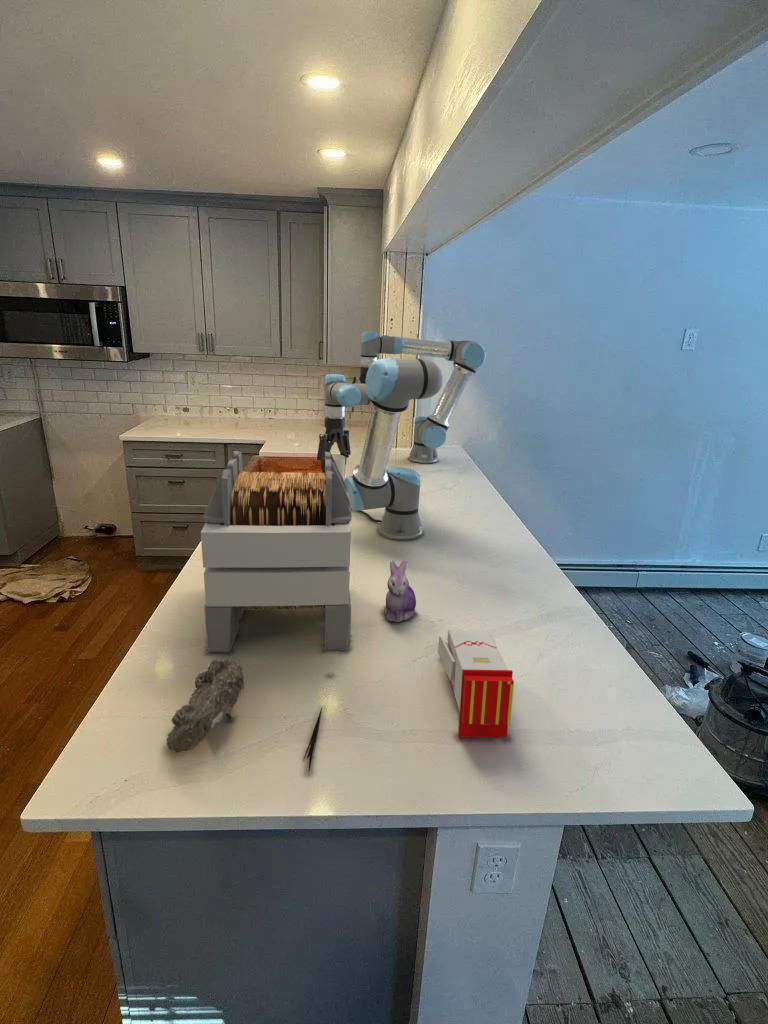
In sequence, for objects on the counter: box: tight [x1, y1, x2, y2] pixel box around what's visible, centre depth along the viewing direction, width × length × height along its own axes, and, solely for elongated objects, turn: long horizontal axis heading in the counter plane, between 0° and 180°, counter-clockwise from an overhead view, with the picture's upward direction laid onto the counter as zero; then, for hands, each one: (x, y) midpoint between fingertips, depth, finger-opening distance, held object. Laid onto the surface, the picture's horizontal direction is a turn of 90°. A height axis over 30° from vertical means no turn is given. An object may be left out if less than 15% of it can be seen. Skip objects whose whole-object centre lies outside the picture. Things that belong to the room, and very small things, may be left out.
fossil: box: [166, 658, 245, 754], centre depth 106 cm, size 22×10×15 cm
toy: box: [437, 628, 515, 738], centre depth 117 cm, size 12×13×30 cm
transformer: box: [200, 450, 353, 653], centre depth 138 cm, size 34×33×41 cm
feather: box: [301, 673, 332, 771], centre depth 108 cm, size 2×28×2 cm
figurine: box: [384, 558, 417, 623], centre depth 145 cm, size 9×10×15 cm
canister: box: [324, 453, 346, 480], centre depth 217 cm, size 8×8×11 cm
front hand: (333, 475), depth 218 cm, fingers closed on canister, 8 cm apart
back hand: (367, 411), depth 272 cm, fingers open, 13 cm apart
